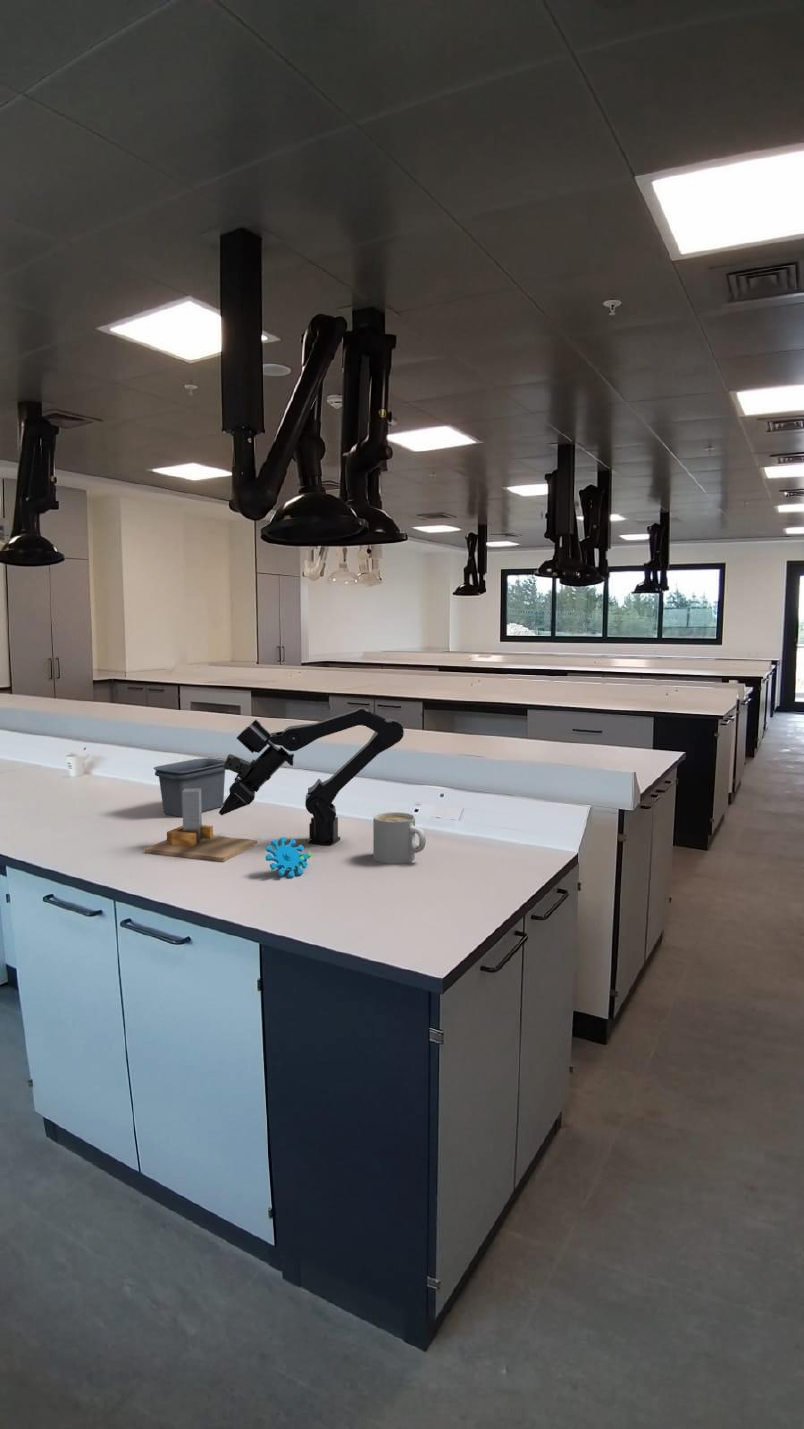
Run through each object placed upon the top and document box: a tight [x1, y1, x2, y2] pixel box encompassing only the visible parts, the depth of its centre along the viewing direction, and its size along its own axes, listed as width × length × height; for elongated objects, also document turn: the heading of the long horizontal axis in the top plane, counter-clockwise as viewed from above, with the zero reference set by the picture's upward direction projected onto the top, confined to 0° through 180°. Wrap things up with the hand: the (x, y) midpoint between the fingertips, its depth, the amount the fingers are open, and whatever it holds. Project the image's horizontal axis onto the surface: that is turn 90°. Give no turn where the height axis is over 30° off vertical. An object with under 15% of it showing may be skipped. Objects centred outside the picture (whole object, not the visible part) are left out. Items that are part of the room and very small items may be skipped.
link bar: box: [182, 789, 203, 843], centre depth 190 cm, size 4×4×13 cm
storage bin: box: [153, 757, 226, 818], centre depth 227 cm, size 21×16×14 cm
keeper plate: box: [144, 824, 258, 863], centre depth 188 cm, size 22×16×4 cm
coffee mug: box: [372, 811, 427, 865], centre depth 180 cm, size 13×10×10 cm
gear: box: [265, 836, 312, 879], centre depth 170 cm, size 11×6×10 cm
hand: (222, 809), depth 191 cm, fingers open, 9 cm apart
